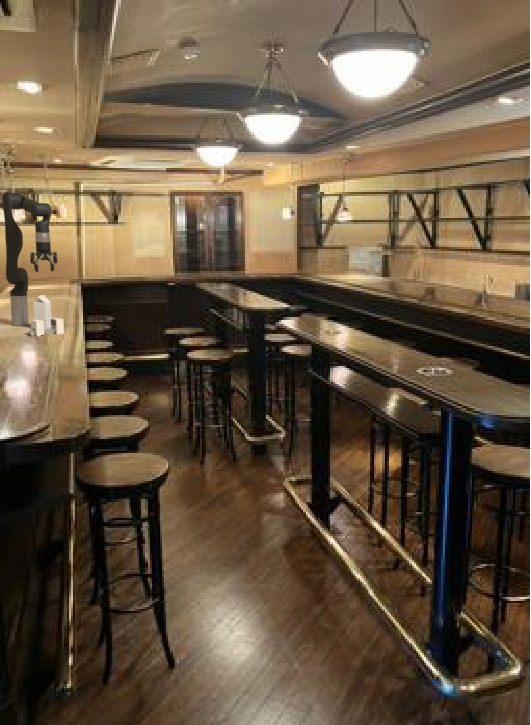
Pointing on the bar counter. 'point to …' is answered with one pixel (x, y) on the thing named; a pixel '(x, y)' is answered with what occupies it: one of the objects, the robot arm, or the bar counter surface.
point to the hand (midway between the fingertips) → (44, 271)
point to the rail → (46, 331)
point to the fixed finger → (57, 325)
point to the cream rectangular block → (37, 327)
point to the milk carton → (43, 310)
